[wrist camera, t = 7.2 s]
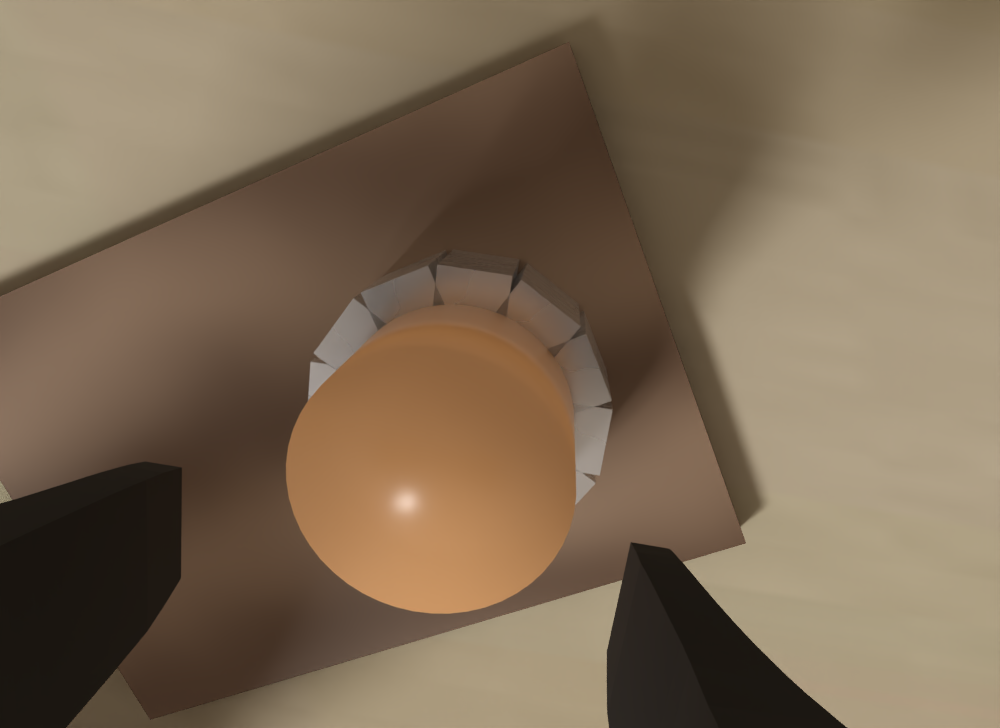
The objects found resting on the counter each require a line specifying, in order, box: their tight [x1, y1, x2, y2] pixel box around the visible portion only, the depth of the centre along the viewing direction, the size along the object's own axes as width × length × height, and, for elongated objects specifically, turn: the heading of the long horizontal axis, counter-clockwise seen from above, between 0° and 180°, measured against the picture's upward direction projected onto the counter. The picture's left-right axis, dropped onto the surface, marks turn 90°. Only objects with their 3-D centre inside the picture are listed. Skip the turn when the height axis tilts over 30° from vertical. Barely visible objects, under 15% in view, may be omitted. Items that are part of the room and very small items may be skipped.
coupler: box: [286, 304, 576, 614], centre depth 17 cm, size 6×6×6 cm
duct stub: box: [308, 249, 613, 505], centre depth 18 cm, size 7×7×2 cm
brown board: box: [0, 42, 746, 720], centre depth 21 cm, size 14×20×1 cm
